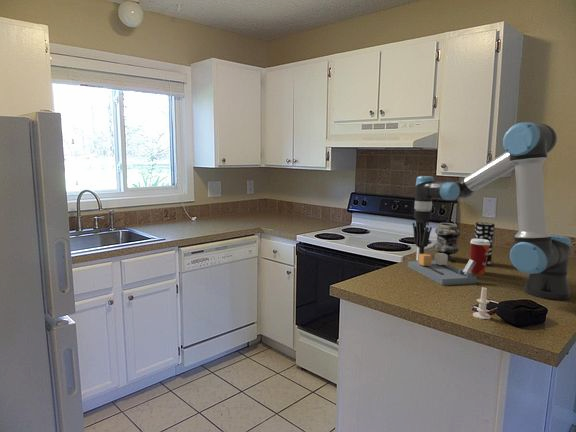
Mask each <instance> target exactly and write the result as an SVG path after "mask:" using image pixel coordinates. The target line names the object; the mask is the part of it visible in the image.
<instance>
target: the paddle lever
mask: <svg viewBox="0 0 576 432" xmlns="http://www.w3.org/2000/svg"><path fill="white" fill-rule="evenodd" d="M475 264H476V262H475V261H473V260H471V259H470V258H469V260H468V262H467V263H466V265H465V267H464V268H463V269H464V270H463V272H462V274H464V275H466V272H471V270H472V269H473V267H474V265H475Z"/></svg>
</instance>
